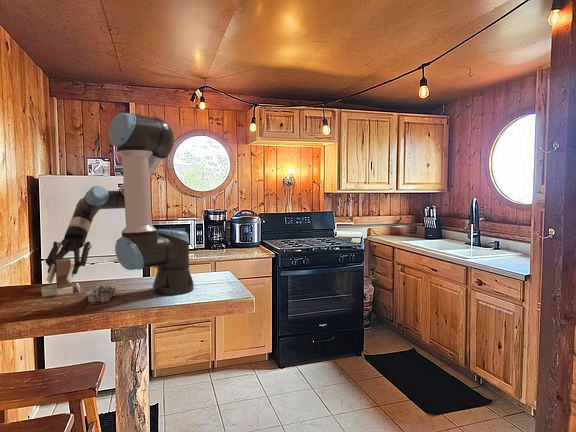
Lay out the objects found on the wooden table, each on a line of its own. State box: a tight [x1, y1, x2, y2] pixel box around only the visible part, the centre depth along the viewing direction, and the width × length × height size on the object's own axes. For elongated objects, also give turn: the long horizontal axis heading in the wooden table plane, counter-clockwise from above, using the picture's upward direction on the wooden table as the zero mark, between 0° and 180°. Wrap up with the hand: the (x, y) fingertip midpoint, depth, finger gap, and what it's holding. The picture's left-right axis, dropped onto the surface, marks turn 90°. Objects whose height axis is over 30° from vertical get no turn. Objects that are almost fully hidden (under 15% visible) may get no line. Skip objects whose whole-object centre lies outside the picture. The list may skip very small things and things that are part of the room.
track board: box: [40, 282, 81, 297], centre depth 146 cm, size 7×12×2 cm, turn 125°
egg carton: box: [86, 284, 117, 303], centre depth 140 cm, size 11×8×4 cm
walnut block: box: [55, 257, 73, 289], centre depth 146 cm, size 4×4×10 cm
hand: (58, 281), depth 143 cm, fingers closed on walnut block, 6 cm apart
